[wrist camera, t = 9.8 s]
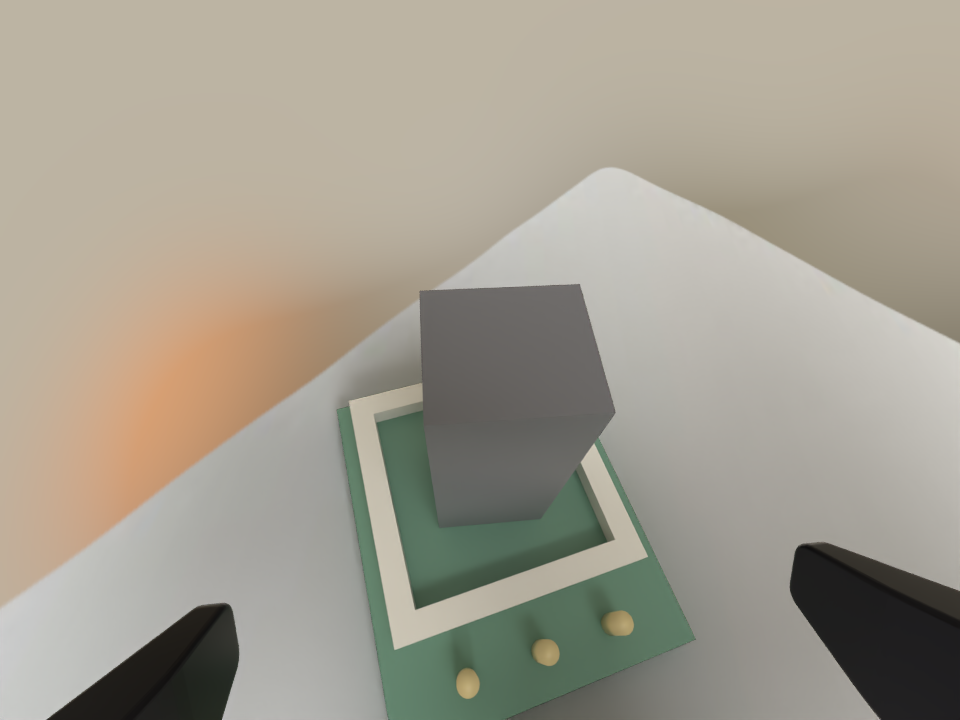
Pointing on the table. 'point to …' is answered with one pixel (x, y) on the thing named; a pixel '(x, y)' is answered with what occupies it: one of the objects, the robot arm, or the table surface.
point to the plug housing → (508, 398)
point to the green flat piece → (496, 580)
